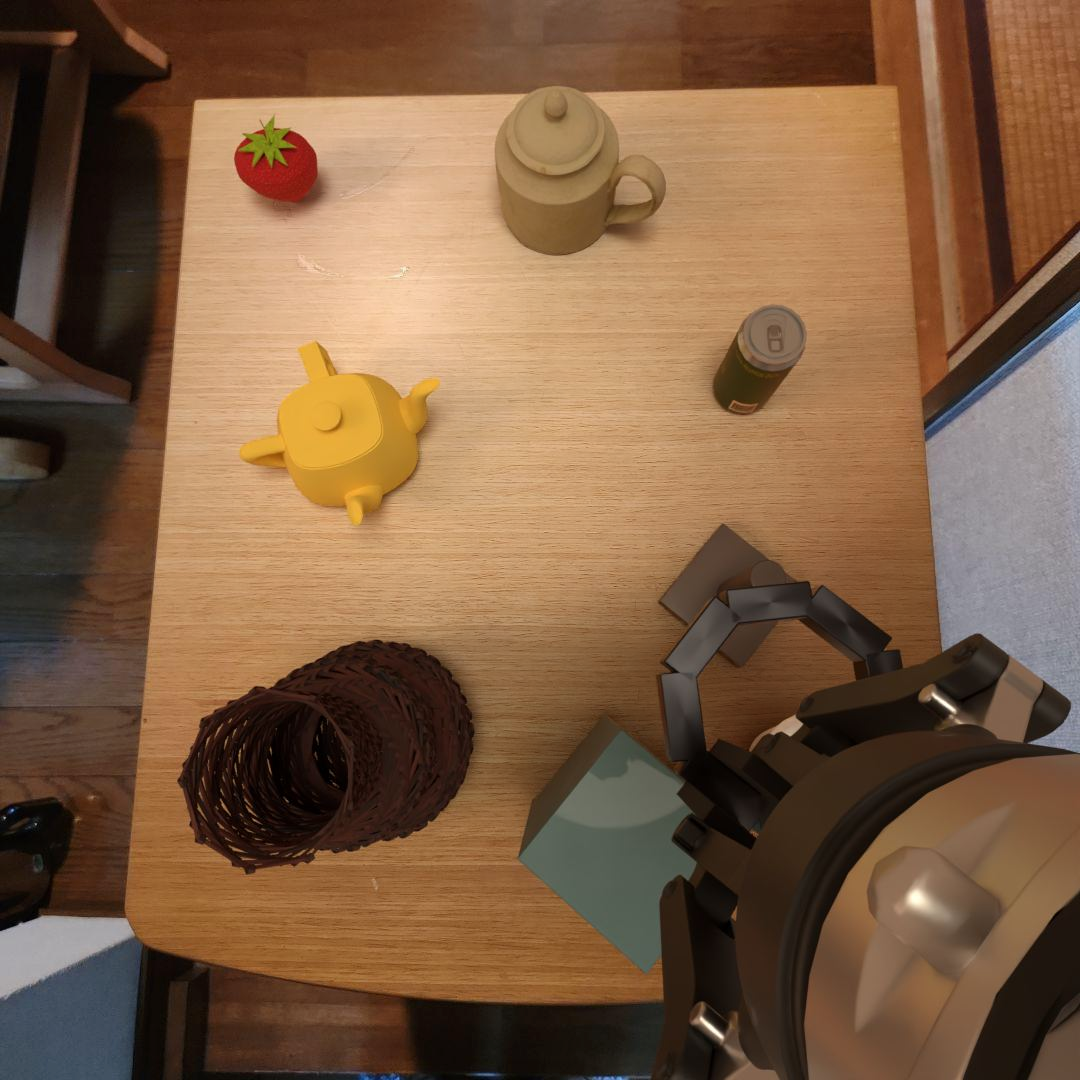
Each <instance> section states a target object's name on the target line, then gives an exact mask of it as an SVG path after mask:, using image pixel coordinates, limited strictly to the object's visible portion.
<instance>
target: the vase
mask: <svg viewBox="0 0 1080 1080" xmlns="http://www.w3.org/2000/svg"><path fill="white" fill-rule="evenodd" d="M461 689H462V688H461V685H460V684H459V683H458V682H457V681H456V680H455V679H454V678H453V673H452V672H451V670H450V669H448V668H447V667H446V666H444V665H442V663H441V661H440V660H439V659H438V658H437V657H436V656H434V655H433V654H428V652H427V651H426V650H424V649H423V648H419V647H413V646H411V645H410V643H405V642H401V643H400V642H398V641H397V642H396V641H393V640H392V641H391V640H390V641H385V642H384V641H383V640H381V639H373V640H369V641H364V640H363V641H362V640H358V641H355V642H351V643H350V644H345V645H340V646H339V647H338V648H336V649H333V650H330V651H329V652H327V653H326V654H324V655H323V656H322V657H319V658H317V659H315V660H314V661H312V662H308V663H306V664H303V665H302V666H301V667H297V668H295V669H293V670H291V672H289V673H288V674H287V675H286V676H285V677H282V678H280V679H278V680H277V681H276V682H275V683H274V685H273V686H270V687H268V688H266V687H265V686H260V685H254V686H253V687H252V688H251V689H249V691H247V693H245V694H244V695H242V696H241V697H239V698H236V699H232V700H228V702H227V703H226V705H224V706H221V707H219V708H216V709H214V710H213V712H212V713H211V714H208V715H206V716H203V717H201V718H200V719H199V724H198V728H199V729H198V732H197V735H196V737H195V740H194V742H193V744H192V745H191V746H190V747H189V753H188V755H187V758H186V760H184V762H183V763H182V764H181V766H182V771H181V773H180V776H179V777H178V778H177V780H176V783H177V784H178V785H179V788H180V789H182V792H183V795H184V796H183V797H184V800H185V803H186V809H187V811H188V815H189V818H190V821H189V824H188V826H189V827H190V828H191V829H192V830H193V834H194V843H195V844H199V845H201V846H204V845H205V846H207V847H208V848H210V849H211V850H212V851H215V852H216V853H218V854H219V855H221V856H222V857H224V858H226V859H227V860H229V861H230V863H231V867H232V868H239V869H240V868H241V869H243V870H244V873H245V875H252V874H255V873H256V871H257V870H262V869H267V868H274V867H280V868H281V867H283V866H287V865H290V866H292V867H294V868H295V867H297V866H298V865H299V864H301V863H305V864H307V865H309V864H311V862H313V861H314V860H315V859H316V856H315V854H316V853H317V852H318V851H320V852H325V851H331V852H332V853H333V854H339V853H343V852H345V851H347V852H349V853H352V852H357V851H359V850H360V849H361V847H362V848H367V847H369V846H371V845H373V844H375V843H377V842H380V841H382V842H390V841H393V840H395V839H397V838H399V839H406V838H408V837H409V836H411V835H412V834H413V833H414V832H416V833H417V832H421V831H422V830H424V829H426V827H428V825H429V822H430V823H432V822H434V821H435V820H436V819H437V818H438V816H439V815H440V814H441V812H443V811H444V810H445V809H446V808H447V807H448V806H449V805H450V803H451V801H452V800H454V799H455V798H456V797H457V794H458V793H459V790H460V787H461V786H462V785H463V784H464V782H465V779H466V776H467V773H468V768H469V766H470V758H471V755H472V754H473V752H474V741H473V738H474V736H475V725H474V723H473V722H472V721H473V718H474V717H473V713H472V711H471V709H470V707H469V705H467V704H468V699H467V697H466V696H465V694H464V693H463V692H462V690H461ZM223 805H224V806H225V808H224V806H223ZM198 808H199V809H200V810H201V811H200V810H199V809H198ZM249 810H250V811H251V812H250V811H249ZM233 848H235V849H237V850H234V849H233ZM238 850H239V851H238ZM311 851H312V852H311ZM298 854H299V855H298ZM243 858H245V859H243Z"/></svg>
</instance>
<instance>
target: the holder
mask: <svg viewBox="0 0 1080 1080" xmlns="http://www.w3.org/2000/svg"><path fill="white" fill-rule="evenodd" d="M792 582H798V581H797V580H796V579H795V578H794V577H792V576H791V575H790V574H789V573H787V572H786V571H785V569H784V568H783V566H782V565H781V564H780V563H778V562H776V561H775V560H771V559H769V558H768V557H767V556H765V554H763V553H762V552H760V551H759V550H758V549H757V548H756V547H754V546H753V545H752V544H751V543H749V542H748V541H747V540H745V539H744V538H743V537H742V536H740V535H739V534H738V533H737V532H735V531H734V530H732V529H731V528H730V527H728V525H726V524H725V523H722V524H720V525H719V527H717V529H716V530H715V531H714V533H712V534H711V536H710V538H709V539H708V540H707V541H705V543H704V545H703V546H702V547H701V548H700V550H699V551H698V552H697V553H696V554H695V556H694V557H693V558H692V559H691V561H690V562H689V563H688V564H687V565H686V567H685V568H684V569H683V570H682V572H681V573H680V574H679V575H678V577H677V578H676V579H675V580H674V582H673V583H672V584H671V585H670V586H669V587H668V589H667V590H666V591H665V593H663V595H662V596H661V597H660V599H659V600H658V601H657V603H658V604H659V605H660V606H661V607H662V608H664V609H665V610H666V611H668V613H670V614H671V615H672V616H674V617H675V618H676V620H679V622H681V623H682V624H684V626H686V627H687V626H688V625H689V623H690V622H691V621H692V620H693V618H694V617H695V616H696V614H697V613H698V612H699V611H700V609H701V608H702V607H703V605H704V604H705V603H706V602H707V600H709V599H710V598H712V597H714V596H717V597H718V598H719V599H720V596H719V595H720V593H722V592H723V591H725V590H727V589H734V588H744V587H753V586H763V585H773V584H782V583H792ZM778 623H779V622H769V623H760V624H750V625H740V626H737V627H736V628H735V630H734V631H733V632H732V634H731V635H730V636H729V637H728V639H727V640H726V641H725V643H724V644H723V645H722V647H721V648H720V649H719V650H718V652H717V653H719V654H720V655H721V656H723V657H724V658H725V659H726V660H728V661H729V662H730V663H731V664H733V665H734V666H735V667H736V668H738V669H741V668H743V667H744V666H745V665H746V663H747V662H748V661H749V660H750V658H751V657H752V656H753V655H754V654H755V652H756V651H757V650H758V648H759V647H760V646H761V645H762V643H763V642H764V641H765V639H767V637H768V635H769V634H771V632H772V631H773V629H774V628H775V627H776V625H777V624H778Z"/></svg>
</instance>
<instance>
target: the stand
mask: <svg viewBox="0 0 1080 1080" xmlns="http://www.w3.org/2000/svg"><path fill="white" fill-rule="evenodd" d="M602 714H603V715H601V716H600V717H599V719H598V720H597V721H596V723H595V724H594V725H593V726H592V728H591V729H590V730H589V731H588V733H587V734H586V735H585V736H584V738H582V740H581V741H580V742H579V744H578V745H577V746H576V747H575V749H574V750H573V751H572V752H571V754H570V755H569V756H568V757H567V759H566V760H565V761H564V762H563V764H561V766H560V767H559V769H558V770H557V771H556V772H555V773H554V775H553V776H552V777H551V779H549V781H548V782H547V783H546V785H545V786H543V788H542V790H541V791H540V792H539V793H538V794H537V796H536V797H535V798H534V799H533V801H532V802H531V803H530V807H529V811H528V813H527V814H528V815H527V819H526V823H525V825H524V826H525V827H524V831H523V835H522V839H521V843H520V847H519V851H518V855H517V860H518V861H519V862H520V864H522V865H524V867H526V869H527V870H529V871H530V872H531V873H532V874H533V875H535V876H536V877H537V878H538V879H539V880H540V882H543V884H545V885H546V887H548V888H549V889H550V890H551V891H552V892H554V893H555V895H557V896H558V897H559V898H560V899H561V900H562V901H563V902H564V903H566V904H567V905H568V906H569V907H570V908H571V909H572V910H573V911H574V912H576V913H577V914H578V915H579V916H580V917H581V918H582V919H584V920H585V921H586V922H587V923H588V924H589V925H590V926H591V927H592V928H594V929H595V930H596V931H597V932H598V933H599V934H600V935H601V936H602V937H603V938H605V939H606V940H607V941H608V942H609V943H610V944H612V946H614V947H615V948H616V950H618V951H619V952H620V953H621V954H623V956H625V957H626V959H628V960H629V961H630V962H631V963H633V964H634V965H635V966H636V967H637V968H638V969H639V970H640V971H641V972H642V973H643V974H645V975H648V974H649V973H650V971H652V969H653V967H654V966H655V965H656V963H657V962H658V961H659V959H660V958H662V953H661V931H660V909H659V902H660V899H661V896H662V891H663V889H664V887H665V886H666V884H667V883H668V882H669V881H672V880H673V879H674V878H675V877H676V876H678V875H682V876H683V877H684V878H685V879H687V880H689V879H690V877H691V875H692V873H693V871H694V869H695V867H696V863H697V862H696V861H695V860H693V859H692V858H691V857H690V856H689V855H687V854H686V853H685V852H684V851H683V850H681V849H680V848H679V847H678V846H677V845H675V844H674V843H673V842H672V840H671V839H672V835H673V833H674V832H675V830H676V828H677V827H678V825H679V824H680V823H681V821H682V820H683V819H684V818H685V817H686V816H687V815H688V814H690V813H693V814H695V813H694V812H693V811H692V810H691V809H690V808H689V807H688V806H687V805H686V804H685V803H684V802H683V801H682V800H681V798H680V797H679V796H678V795H677V793H678V791H679V790H680V789H681V787H682V786H683V785H684V783H685V782H686V781H685V780H684V779H683V778H681V777H680V776H679V775H678V774H677V773H675V772H674V771H673V769H671V767H669V766H668V765H666V763H665V762H664V761H662V760H661V759H660V758H658V757H657V756H656V755H655V754H654V753H653V752H651V751H650V750H649V749H647V747H646V746H645V745H643V744H642V743H641V742H640V741H638V740H637V738H635V737H634V736H633V735H631V734H630V733H629V732H628V731H627V730H625V728H623V727H622V726H620V725H619V724H618V722H616V721H615V720H614V719H613V718H611V717H610V716H609V715H608V714H607V713H602Z"/></svg>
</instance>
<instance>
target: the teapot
mask: <svg viewBox="0 0 1080 1080" xmlns="http://www.w3.org/2000/svg"><path fill="white" fill-rule="evenodd" d="M296 349H297V351H298V353H299V356H300V359H301V362H302V365H303V367H304V369H305V373H306V376H307V377H308V380H309V382H308V383H306V384H304V385H302V386H300V387H298V388H297V389H295V390H293V391H292V392H290V393H289V394H288V395H287V396H285V398H283V400H282V402H281V403H280V405H279V406H278V409H277V415H276V428H277V434H273V435H268V436H265V437H260V438H257V439H253V440H250V441H247V442H246V443H244V444H242V445H241V446H240V448H239V450H238V455H239V457H240V459H241V460H242V461H243V462H244V463H247V464H250V465H254V466H259V467H271V468H272V467H273V468H286V469H287V472H288V473H289V476H290V478H291V479H292V481H293V483H294V485H295V487H296V489H297V490H298V491H299V492H300V493H301V494H302V496H303V497H304V498H306V499H307V500H309V501H310V502H311V503H314V504H315V505H320V506H326V507H343V506H345V507H346V513H347V517H348V519H349V522H350V523H351V525H354V526H359V525H360V524H361V523H362V521H363V517H364V515H366V514H370V513H371V512H374V511H375V510H377V509H378V508H379V507H380V505H381V504H382V500H383V496H384V495H386V494H388V493H390V492H391V491H393V490H394V489H396V488H397V487H399V486H400V485H401V484H403V483H404V482H405V481H406V480H407V479H408V478H409V477H410V476H411V474H413V472H414V470H415V468H416V466H417V464H418V461H419V446H418V438H417V433H418V432H420V431H421V429H423V427H424V426H425V424H426V423H427V419H428V415H429V414H428V405H427V398H428V396H429V395H431V394H432V393H433V392H435V391H436V390H437V389H438V388H439V387H440V385H441V380H440V379H439V378H437V377H430V378H426V379H423V380H421V381H420V382H418V383H417V384H415V385H414V386H413V387H412V388H411V390H410V391H409V395H406V396H404V397H403V398H402V396H401V394H400V393H399V392H398V390H397V389H396V388H395V387H394V386H393V385H392V384H391V383H390V382H388V381H386V379H385V380H384V378H381V377H379V376H377V375H373V374H369V373H363V372H362V373H360V372H351V373H350V372H349V373H348V372H347V373H338V371H337V370H336V368H335V366H334V363H333V362H332V361H333V360H332V359H331V357H330V355H329V353H328V351H327V349H326V348H325V347H324V346H322V345H321V344H320V343H319V342H318V340H313V341H312V342H309V343H306V344H303V345H300V346H298V347H296Z"/></svg>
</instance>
